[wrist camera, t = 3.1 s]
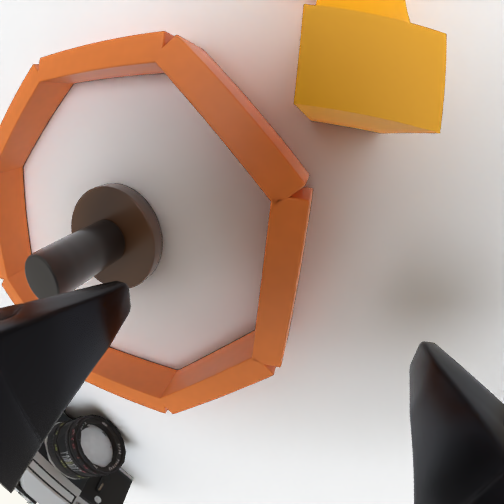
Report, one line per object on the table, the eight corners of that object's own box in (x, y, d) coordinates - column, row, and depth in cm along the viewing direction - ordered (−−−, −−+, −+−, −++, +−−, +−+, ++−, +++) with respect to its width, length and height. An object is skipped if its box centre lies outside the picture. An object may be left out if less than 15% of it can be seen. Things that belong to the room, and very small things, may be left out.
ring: (329, 51, 10) (329, 31, 8) (272, 408, 16) (264, 441, 14) (16, 78, 13) (-15, 78, 10) (39, 328, 19) (18, 345, 17)
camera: (181, 472, 24) (156, 558, 14) (110, 481, 26) (80, 546, 16) (71, 357, 21) (-1, 437, 12) (17, 386, 23) (-37, 445, 14)
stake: (163, 187, 13) (80, 222, 8) (164, 292, 15) (101, 357, 10) (78, 180, 14) (-5, 206, 9) (85, 271, 16) (17, 318, 11)
